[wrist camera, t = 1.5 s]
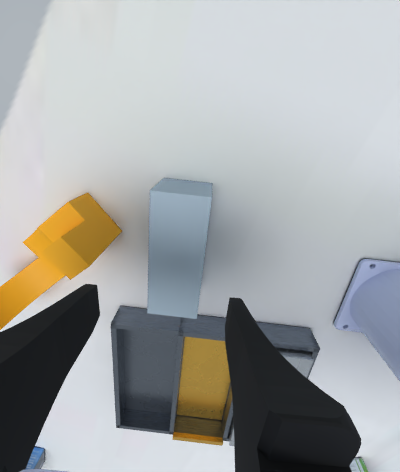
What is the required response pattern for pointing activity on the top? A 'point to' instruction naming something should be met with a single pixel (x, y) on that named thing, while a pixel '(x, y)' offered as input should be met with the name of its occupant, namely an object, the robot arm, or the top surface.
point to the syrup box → (358, 465)
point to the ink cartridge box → (36, 458)
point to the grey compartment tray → (186, 372)
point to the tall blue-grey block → (177, 246)
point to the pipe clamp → (59, 252)
